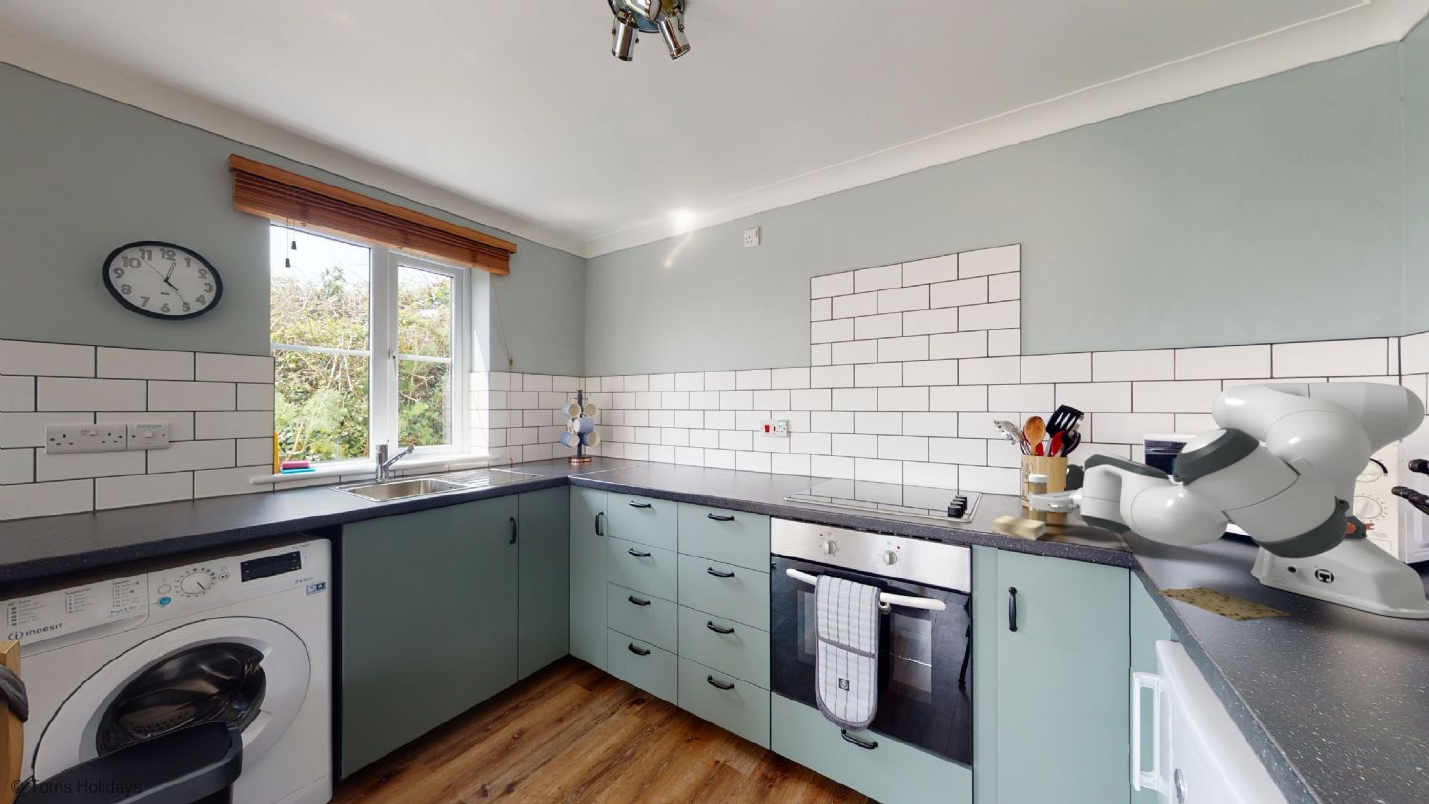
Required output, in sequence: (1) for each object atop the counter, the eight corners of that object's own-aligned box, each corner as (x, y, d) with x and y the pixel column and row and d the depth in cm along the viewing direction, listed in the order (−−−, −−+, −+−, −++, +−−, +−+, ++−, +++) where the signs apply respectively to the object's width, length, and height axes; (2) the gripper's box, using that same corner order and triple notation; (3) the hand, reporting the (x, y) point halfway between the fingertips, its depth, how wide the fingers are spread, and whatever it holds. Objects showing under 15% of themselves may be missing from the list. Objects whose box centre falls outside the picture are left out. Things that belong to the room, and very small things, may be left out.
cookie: (1293, 618, 80) (1294, 612, 80) (1236, 623, 78) (1237, 617, 78) (1207, 590, 92) (1207, 585, 92) (1155, 594, 89) (1155, 589, 89)
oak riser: (1045, 533, 130) (1045, 522, 130) (1035, 540, 123) (1035, 528, 123) (1003, 526, 137) (1003, 515, 137) (991, 532, 130) (991, 521, 130)
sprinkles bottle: (1045, 524, 137) (1045, 476, 136) (1026, 521, 140) (1026, 475, 140) (1049, 521, 140) (1049, 474, 140) (1031, 518, 143) (1030, 473, 143)
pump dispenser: (1099, 513, 155) (1100, 465, 155) (1080, 516, 150) (1081, 466, 150) (1064, 506, 164) (1065, 461, 164) (1046, 509, 159) (1046, 463, 159)
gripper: (1065, 520, 124) (1011, 509, 136) (1109, 513, 132) (1055, 503, 145) (1065, 496, 124) (1011, 487, 136) (1109, 490, 132) (1055, 482, 145)
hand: (1034, 495), depth 141 cm, fingers closed on sprinkles bottle, 4 cm apart
